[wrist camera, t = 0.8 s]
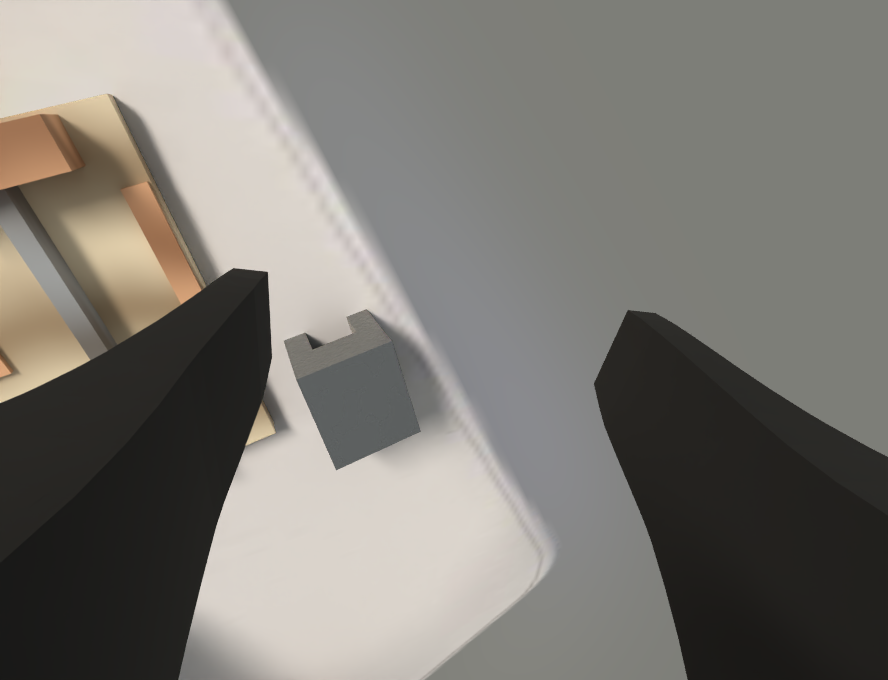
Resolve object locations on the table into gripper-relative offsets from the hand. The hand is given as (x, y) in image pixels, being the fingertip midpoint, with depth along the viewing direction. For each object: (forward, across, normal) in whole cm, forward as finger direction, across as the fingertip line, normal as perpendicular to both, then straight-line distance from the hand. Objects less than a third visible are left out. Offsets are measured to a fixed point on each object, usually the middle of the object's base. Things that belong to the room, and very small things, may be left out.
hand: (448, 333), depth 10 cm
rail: (+13, +14, +10) cm, 22 cm away
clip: (+15, +3, +14) cm, 21 cm away
